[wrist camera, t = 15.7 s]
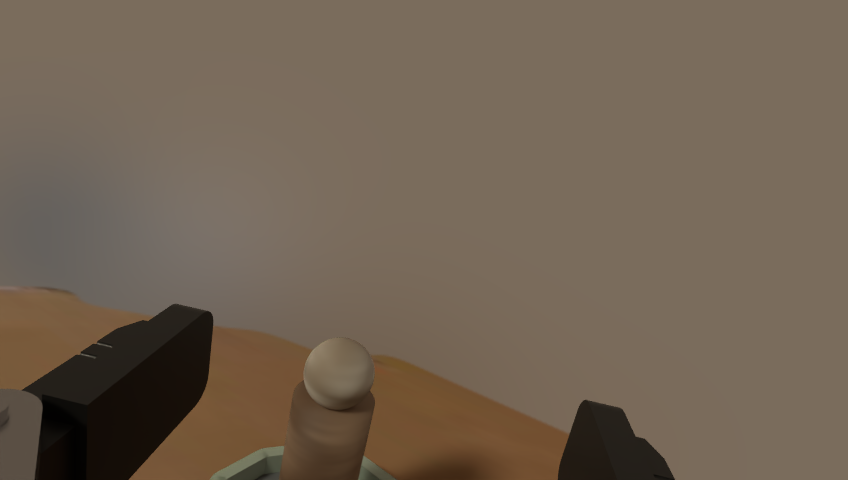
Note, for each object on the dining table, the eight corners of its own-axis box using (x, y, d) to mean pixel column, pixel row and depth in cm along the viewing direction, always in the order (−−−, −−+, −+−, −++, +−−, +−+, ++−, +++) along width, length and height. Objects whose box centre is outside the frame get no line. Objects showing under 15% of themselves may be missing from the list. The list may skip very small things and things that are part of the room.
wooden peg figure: (350, 523, 39) (392, 333, 34) (332, 586, 34) (379, 373, 29) (283, 506, 39) (316, 315, 34) (255, 567, 34) (290, 352, 29)
